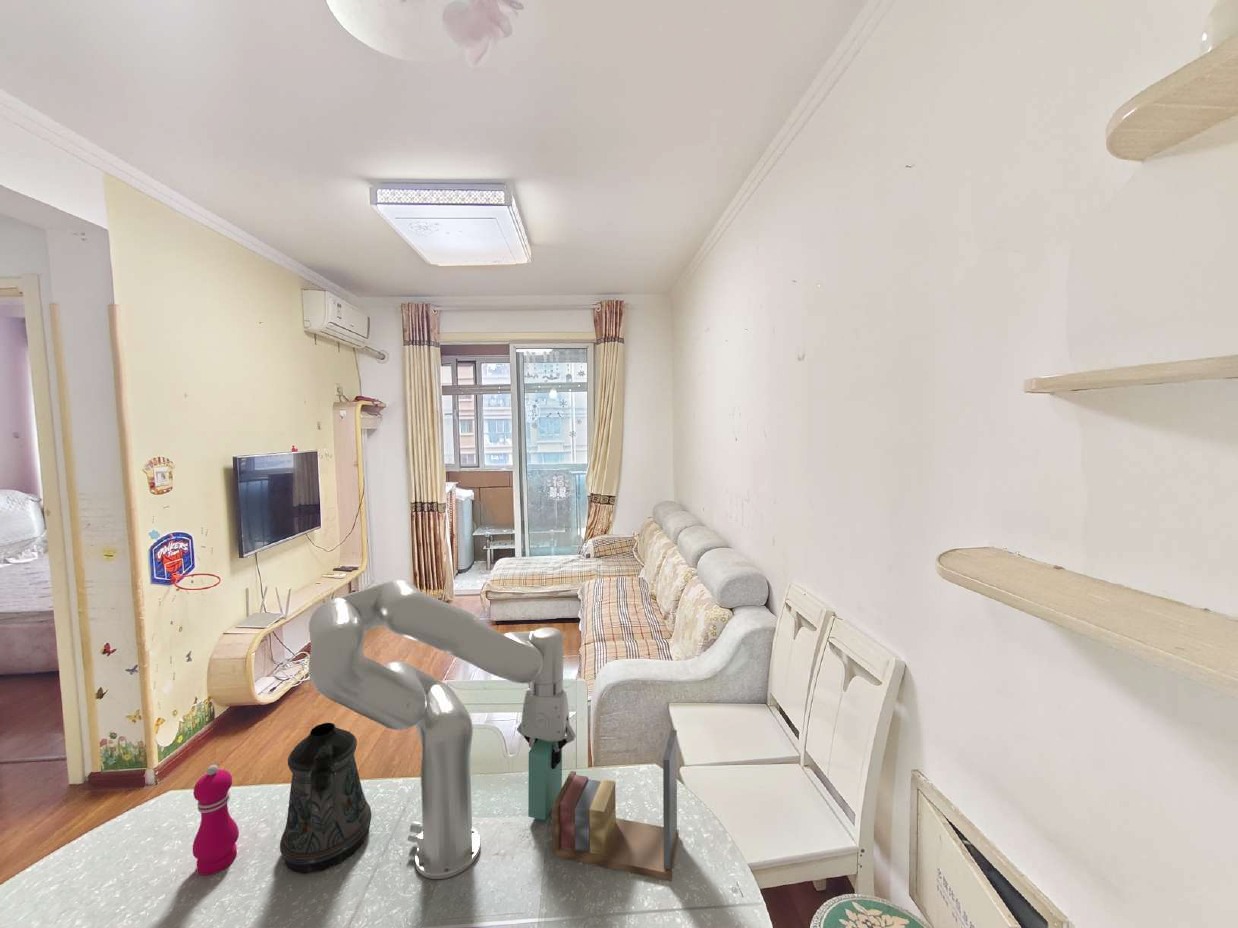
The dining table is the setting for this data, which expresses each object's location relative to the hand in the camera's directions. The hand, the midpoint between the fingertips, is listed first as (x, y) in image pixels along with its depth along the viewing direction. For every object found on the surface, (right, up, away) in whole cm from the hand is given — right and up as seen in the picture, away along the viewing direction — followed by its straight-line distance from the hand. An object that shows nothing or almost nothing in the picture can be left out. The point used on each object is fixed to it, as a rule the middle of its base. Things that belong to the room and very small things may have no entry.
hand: (545, 762), depth 114 cm
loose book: (0, -9, 0) cm, 9 cm away
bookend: (+27, -9, -13) cm, 31 cm away
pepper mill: (-64, -12, -13) cm, 67 cm away
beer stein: (-43, -12, -9) cm, 46 cm away
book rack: (+16, -11, -10) cm, 22 cm away
